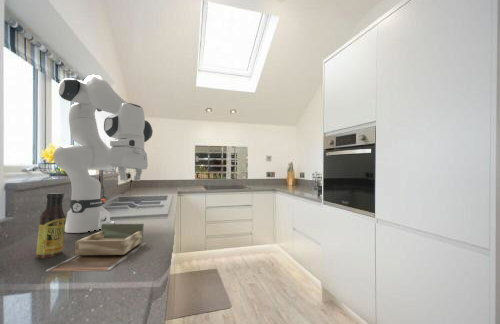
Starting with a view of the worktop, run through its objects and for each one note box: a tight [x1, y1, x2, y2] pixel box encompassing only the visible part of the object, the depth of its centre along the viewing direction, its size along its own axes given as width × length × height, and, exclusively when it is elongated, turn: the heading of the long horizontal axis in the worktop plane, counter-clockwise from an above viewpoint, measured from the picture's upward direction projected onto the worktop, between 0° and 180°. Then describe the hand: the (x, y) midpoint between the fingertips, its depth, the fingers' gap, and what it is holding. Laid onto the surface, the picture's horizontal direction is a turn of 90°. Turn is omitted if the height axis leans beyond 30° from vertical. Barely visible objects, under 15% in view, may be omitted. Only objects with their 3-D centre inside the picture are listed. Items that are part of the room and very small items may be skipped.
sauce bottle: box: [35, 192, 66, 259], centre depth 70 cm, size 7×6×20 cm
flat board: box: [44, 242, 146, 273], centre depth 69 cm, size 23×16×1 cm
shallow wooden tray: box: [74, 223, 145, 256], centre depth 74 cm, size 14×14×7 cm
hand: (130, 180), depth 85 cm, fingers open, 8 cm apart
